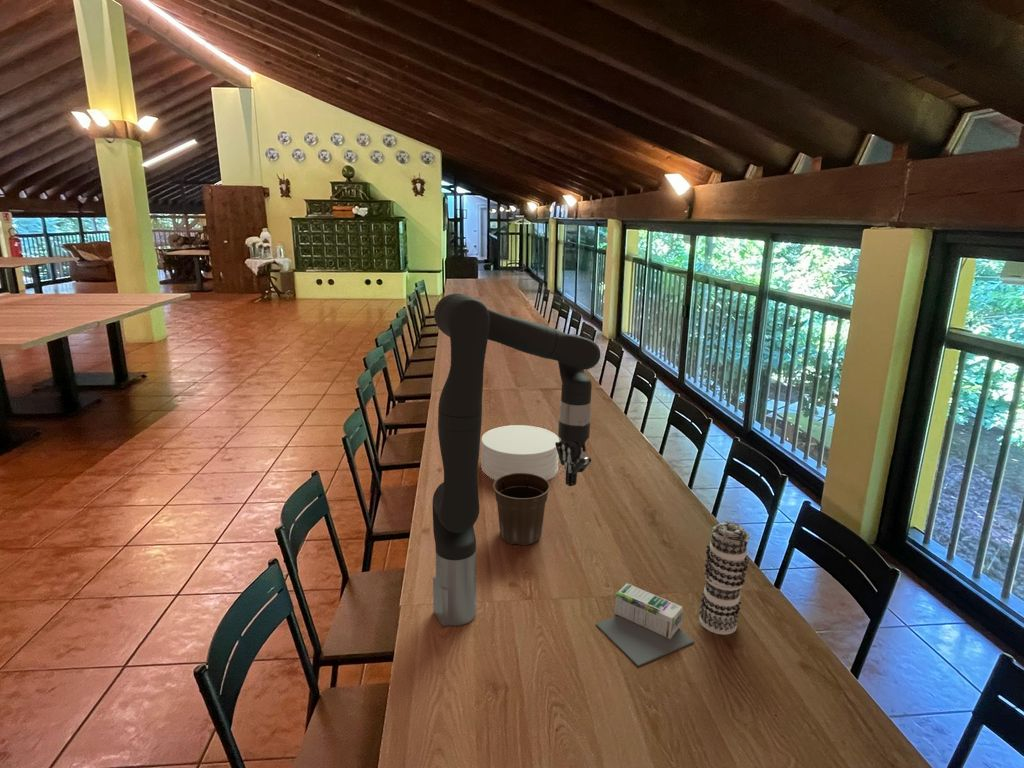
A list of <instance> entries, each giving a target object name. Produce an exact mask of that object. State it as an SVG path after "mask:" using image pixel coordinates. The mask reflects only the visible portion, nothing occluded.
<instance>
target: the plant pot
mask: <svg viewBox="0 0 1024 768" xmlns="http://www.w3.org/2000/svg"><path fill="white" fill-rule="evenodd" d="M492 489H493V491H494V493H495V500H496V502H497V511H498V512H497V514H498V523H499V525H498V526H499V535H500V538H501V539H502V540H503V541H505V542H506V543H508V544H511V545H514V544H517V545H518V546H525V545H527V546H528V545H531V544H535V543H536V542H538V541H539V540H540V539H541V537H542V533H543V525H544V516H545V508H546V502H547V501H548V494H549V492H550V490H551V484H550V482H549V480H546V479H544V478H542V477H540V476H538V475H534V474H529V473H512V474H508V475H504V476H501V477H499V478H498V479H497V480H494V482H493V484H492Z"/></svg>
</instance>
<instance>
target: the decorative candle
mask: <svg viewBox="0 0 1024 768" xmlns="http://www.w3.org/2000/svg"><path fill="white" fill-rule="evenodd" d="M750 540H751V537H750V534H749V533H748V531H746V530H745V528H744V527H743V526H742V525H739V524H738V523H734V522H732V521H731V522H730V521H724V522H721V523H718V524H717V525H715V526H712V528H711V539H710V542H708V543H707V545H706V549H707V550H705V554H706V558H705V564H704V567H705V571H704V577H705V578H704V579H705V585H704V588H703V589H704V590H703V591H702V593H701V596H702V597H701V599H700V601H701V604H700V605H699V606H700V607H699V608H700V610H699V617H698V618H699V624H701V626H702V627H703V628H704V629H706V630H707V631H708V632H711V633H713V634H717V635H722V636H724V635H731V634H733V633H735V632H736V630H737V628H738V625H737V623H739V620H738V618H739V617H740V614H739V611H740V610H741V606H740V605H741V604H742V601H741V589H742V587H743V586H744V583H745V577H746V571H747V569H748V568H749V566H748V564H749V558H748V556H747V554H748V547H747V546H748V542H749V541H750Z"/></svg>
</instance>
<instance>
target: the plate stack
mask: <svg viewBox="0 0 1024 768" xmlns="http://www.w3.org/2000/svg"><path fill="white" fill-rule="evenodd" d="M556 442H560V437H559V436H558V434H556V433H554V432H552V431H551V430H549V429H545V428H542V427H538V426H533V425H524V424H513V425H504V426H498V427H495V428H492V429H489V430H488V431H486V432H485V433H483V435H482V436H481V444H480V447H481V449H480V450H481V454H480V455H481V459H480V461H481V468H482V469H481V468H480V469H481V471H483V472H484V473H485V474H486V475H487V476H489V477H490V478H489V477H488V478H489V479H491V478H492V479H491V480H493V479H494V480H493V481H495V480H497V479H498V478H499V477H501V476H504V475H508V474H512V473H529V474H534V475H538V476H540V477H542V478H544V479H546V480H547V481H550V480H551V479H553V478H555V476H557V474H558V472H559V455H558V452H557V449H556V445H555V443H556ZM483 472H482V473H483ZM484 473H483V474H484ZM485 474H484V475H485ZM486 475H485V476H486ZM487 476H486V477H487Z"/></svg>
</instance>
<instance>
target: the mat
mask: <svg viewBox="0 0 1024 768" xmlns="http://www.w3.org/2000/svg"><path fill="white" fill-rule="evenodd" d="M595 626H596V627H597V628H599V629H600V630H601V632H602V633H603V634H605V636H606V637H607V638H608V639H609V640H611V642H612V643H613V644H615V645H616V646H617V647H618V649H620V651H621V652H623V653H624V655H626V657H627V658H629V660H630V661H632V662H633V664H635V665H636V666H637V668H638V667H641V666H643V665H645V664H648V663H649V662H652V661H653V662H654V660H657V659H659V658H662V657H664V656H667V655H669V654H670V653H673V652H676V651H678V650H681V649H683V648H684V647H687V646H690V645H692V644H694V643H695V640H694V639H692V637H690V636H689V635H688V634H687V633H685V632H684V631H683V630H682V629H681V628H678V630H677V631H676V632H675V633H674V635H673V636H672V638H671V639H669V638H667V637H665V636H662V635H660V634H658V633H656V632H654V631H651V630H649V629H647V628H645V627H643V626H641V625H638V624H636V623H634V622H632V621H630V620H628V619H625V618H623V617H621V616H619V615H617V614H616V615H615V616H612V617H609V618H606V619H604V620H602V621H598V622H596V623H595Z"/></svg>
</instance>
